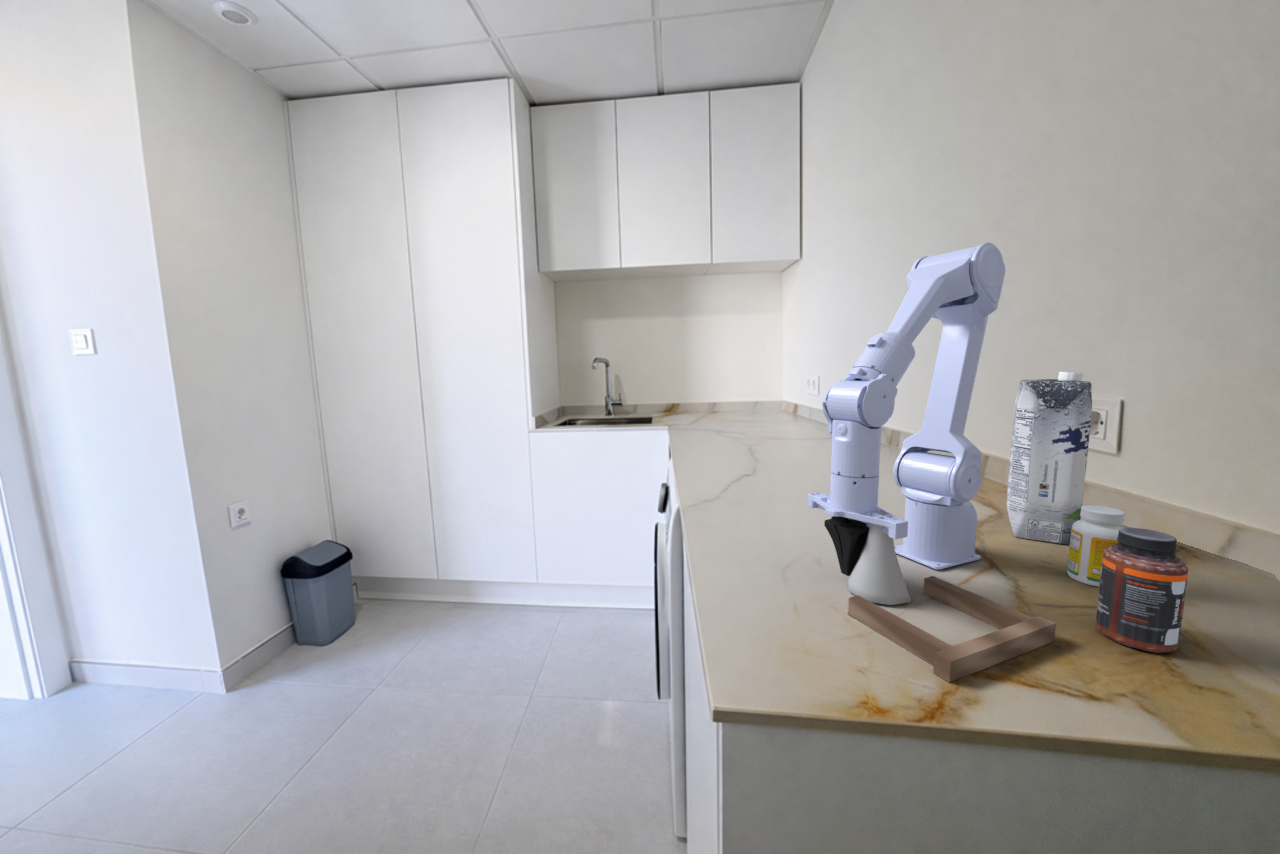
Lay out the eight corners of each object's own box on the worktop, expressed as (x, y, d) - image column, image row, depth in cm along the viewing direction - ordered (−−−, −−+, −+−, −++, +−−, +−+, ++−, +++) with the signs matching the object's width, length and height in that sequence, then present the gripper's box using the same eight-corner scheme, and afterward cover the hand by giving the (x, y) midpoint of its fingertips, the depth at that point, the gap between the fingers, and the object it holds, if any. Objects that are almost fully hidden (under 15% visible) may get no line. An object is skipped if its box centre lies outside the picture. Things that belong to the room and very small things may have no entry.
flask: (922, 608, 55) (927, 526, 54) (859, 606, 56) (862, 525, 54) (894, 580, 62) (898, 507, 61) (838, 579, 63) (840, 507, 62)
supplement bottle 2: (1196, 660, 45) (1212, 546, 43) (1119, 651, 46) (1132, 541, 45) (1148, 627, 50) (1161, 526, 49) (1081, 620, 52) (1091, 521, 51)
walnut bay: (937, 589, 60) (938, 574, 59) (1054, 641, 48) (1056, 622, 48) (841, 616, 54) (842, 599, 53) (949, 682, 42) (950, 662, 42)
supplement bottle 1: (1057, 575, 63) (1064, 506, 62) (1081, 568, 65) (1088, 501, 64) (1108, 592, 58) (1116, 517, 57) (1133, 585, 60) (1141, 512, 59)
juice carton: (1007, 538, 77) (1021, 372, 73) (1003, 520, 85) (1016, 371, 82) (1081, 549, 72) (1100, 372, 68) (1069, 529, 80) (1085, 371, 77)
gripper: (791, 465, 66) (789, 558, 68) (879, 489, 53) (873, 603, 54) (830, 461, 68) (827, 550, 70) (923, 482, 55) (916, 592, 57)
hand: (850, 573), depth 62 cm, fingers closed
